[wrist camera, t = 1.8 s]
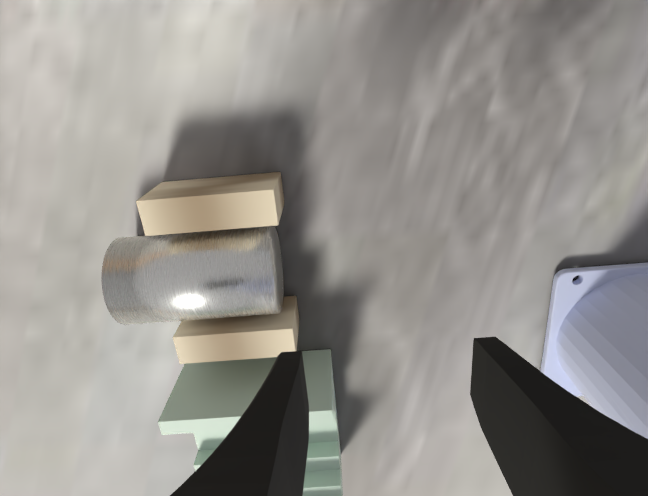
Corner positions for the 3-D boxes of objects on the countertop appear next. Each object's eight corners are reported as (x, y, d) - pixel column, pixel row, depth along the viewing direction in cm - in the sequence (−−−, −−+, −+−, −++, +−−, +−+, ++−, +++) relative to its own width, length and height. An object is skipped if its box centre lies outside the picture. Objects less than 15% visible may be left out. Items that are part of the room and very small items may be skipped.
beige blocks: (280, 171, 20) (273, 189, 17) (299, 320, 23) (296, 355, 20) (162, 181, 20) (135, 201, 17) (197, 327, 23) (179, 363, 20)
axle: (275, 213, 20) (265, 246, 17) (285, 286, 22) (278, 331, 18) (132, 224, 21) (91, 260, 17) (152, 296, 22) (118, 342, 19)
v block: (330, 349, 23) (332, 410, 19) (340, 454, 27) (344, 526, 22) (186, 359, 24) (157, 421, 20) (213, 463, 27) (193, 535, 23)
